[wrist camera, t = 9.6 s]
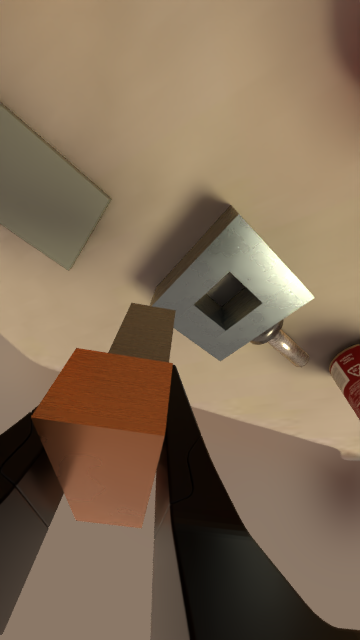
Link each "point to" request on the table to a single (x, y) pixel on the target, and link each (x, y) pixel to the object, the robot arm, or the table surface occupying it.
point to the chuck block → (247, 306)
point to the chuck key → (111, 420)
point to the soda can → (348, 375)
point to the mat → (45, 194)
